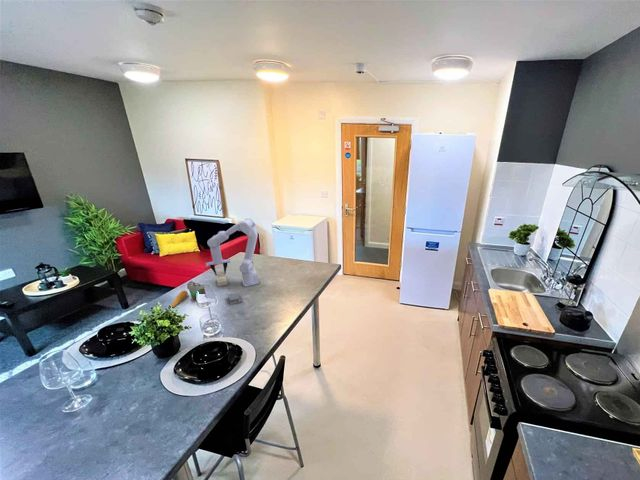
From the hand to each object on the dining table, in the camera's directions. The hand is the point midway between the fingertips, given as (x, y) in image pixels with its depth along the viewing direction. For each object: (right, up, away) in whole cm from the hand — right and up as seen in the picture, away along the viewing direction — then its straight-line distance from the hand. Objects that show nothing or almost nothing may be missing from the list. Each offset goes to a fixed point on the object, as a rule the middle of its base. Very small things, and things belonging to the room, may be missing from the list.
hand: (220, 274), depth 194 cm
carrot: (-14, -18, -23) cm, 32 cm away
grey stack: (+18, -16, -18) cm, 30 cm away
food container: (-5, -15, -18) cm, 24 cm away
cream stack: (0, -6, +3) cm, 6 cm away
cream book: (0, 0, 0) cm, 0 cm away
